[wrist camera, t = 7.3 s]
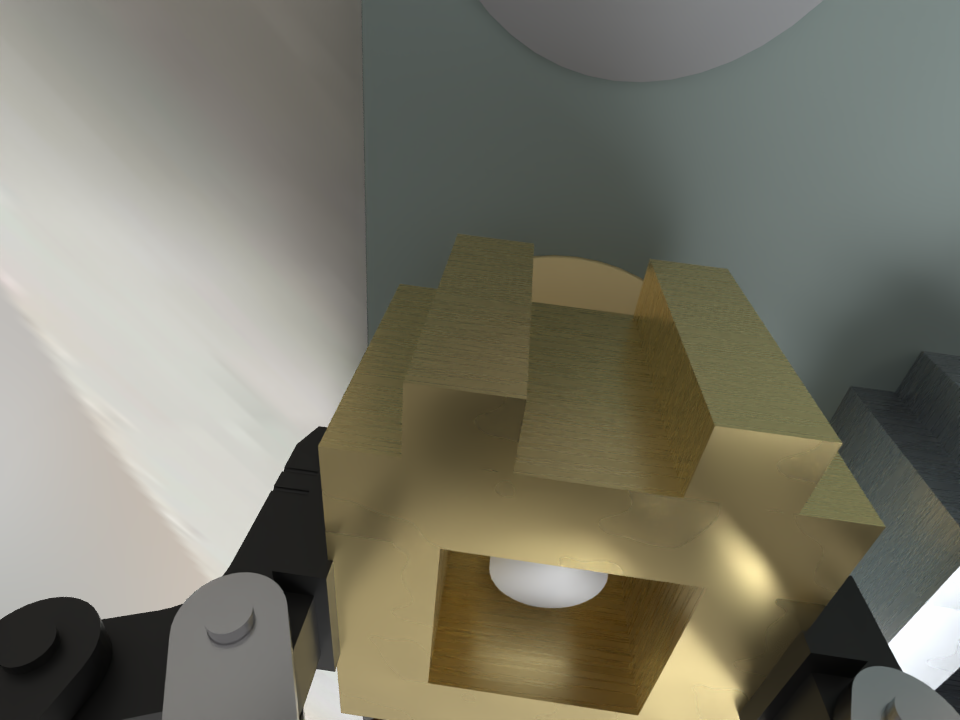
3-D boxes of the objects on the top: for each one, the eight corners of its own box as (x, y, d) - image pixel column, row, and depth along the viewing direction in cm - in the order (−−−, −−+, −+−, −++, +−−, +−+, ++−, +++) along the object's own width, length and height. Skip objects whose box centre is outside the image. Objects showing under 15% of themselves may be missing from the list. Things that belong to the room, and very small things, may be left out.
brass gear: (786, 276, 9) (939, 456, 5) (648, 589, 13) (684, 792, 10) (400, 225, 9) (311, 369, 5) (394, 551, 13) (343, 739, 10)
